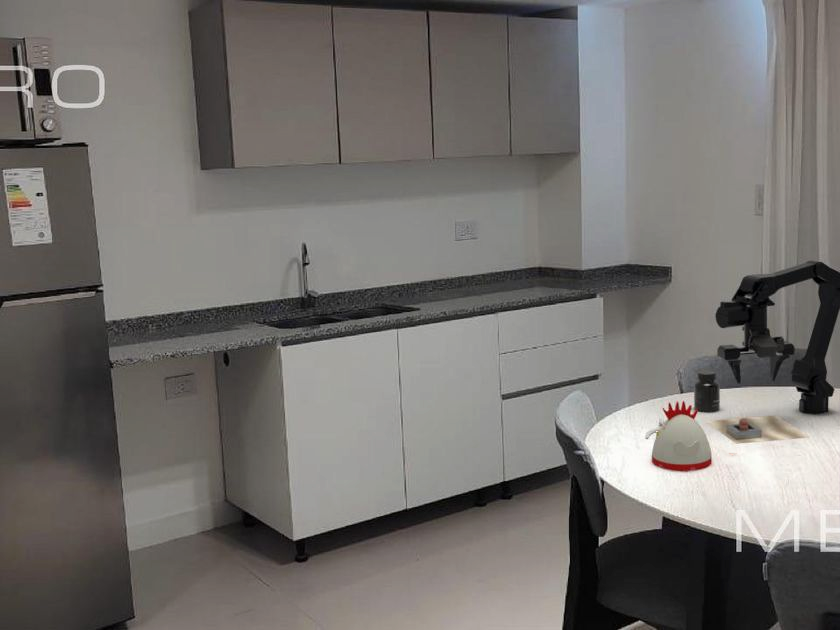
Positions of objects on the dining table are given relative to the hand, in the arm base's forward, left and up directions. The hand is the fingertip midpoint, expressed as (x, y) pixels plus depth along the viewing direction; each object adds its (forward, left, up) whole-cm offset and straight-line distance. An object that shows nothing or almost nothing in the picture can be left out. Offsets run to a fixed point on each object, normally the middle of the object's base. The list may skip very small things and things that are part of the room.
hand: (755, 382), depth 251 cm
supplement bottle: (+8, -14, -12) cm, 20 cm away
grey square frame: (+8, +11, -10) cm, 17 cm away
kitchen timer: (+28, +22, -12) cm, 38 cm away
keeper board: (+3, +7, -12) cm, 14 cm away
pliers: (+24, -3, -13) cm, 27 cm away
